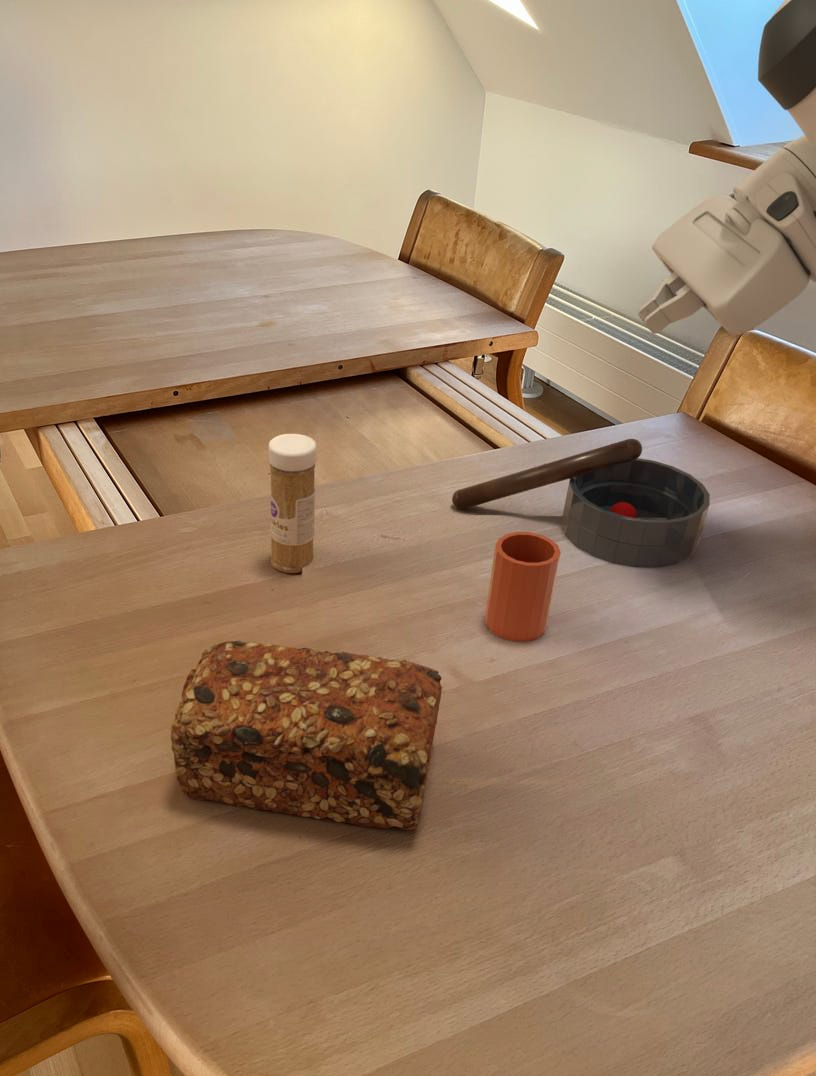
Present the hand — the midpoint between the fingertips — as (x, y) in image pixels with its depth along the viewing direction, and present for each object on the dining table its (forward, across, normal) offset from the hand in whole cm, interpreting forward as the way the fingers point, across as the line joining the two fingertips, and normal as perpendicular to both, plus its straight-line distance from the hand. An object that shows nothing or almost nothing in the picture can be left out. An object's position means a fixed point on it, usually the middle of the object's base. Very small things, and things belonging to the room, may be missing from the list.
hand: (644, 323), depth 90 cm
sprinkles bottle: (+40, +6, -6) cm, 41 cm away
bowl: (+14, 0, +19) cm, 24 cm away
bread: (+39, +36, -5) cm, 53 cm away
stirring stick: (+7, 0, +11) cm, 13 cm away
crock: (+25, +17, +8) cm, 31 cm away
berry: (+13, -1, +17) cm, 21 cm away
